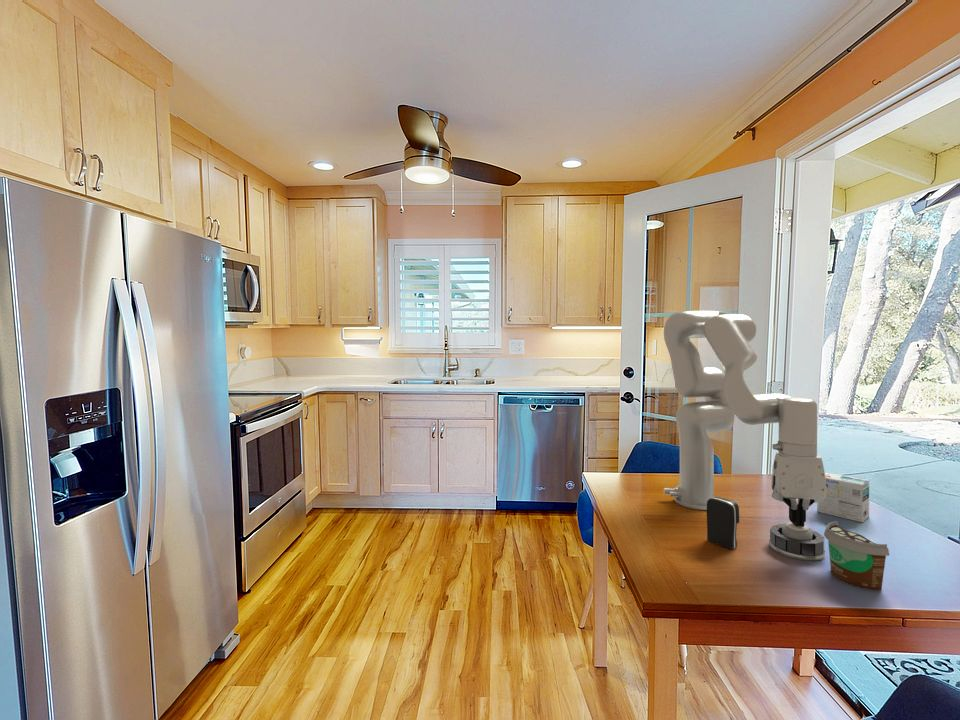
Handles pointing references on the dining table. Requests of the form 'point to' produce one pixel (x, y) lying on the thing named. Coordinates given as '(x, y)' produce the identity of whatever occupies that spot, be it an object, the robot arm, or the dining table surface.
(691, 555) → the dining table surface
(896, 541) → the dining table surface
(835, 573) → the food container
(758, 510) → the dining table surface
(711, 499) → the battery charger
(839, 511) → the light bulb box
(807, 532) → the cap
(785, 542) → the faceted grey bowl
